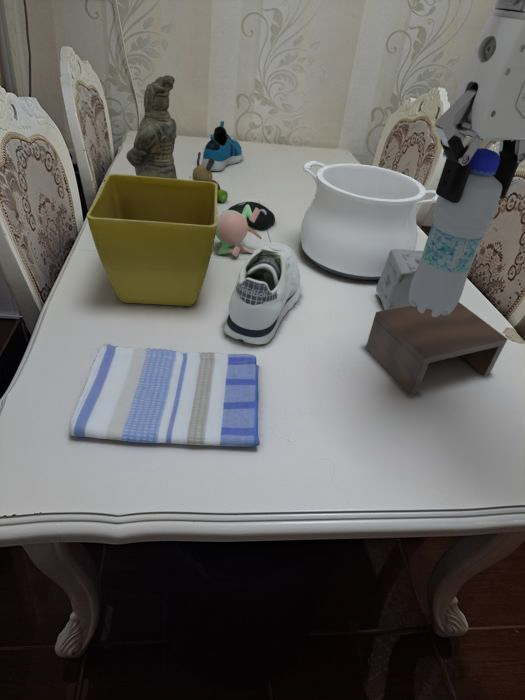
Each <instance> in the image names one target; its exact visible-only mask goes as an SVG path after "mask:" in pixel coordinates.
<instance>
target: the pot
mask: <svg viewBox="0 0 525 700" xmlns="http://www.w3.org/2000/svg"><path fill="white" fill-rule="evenodd" d="M312 167H320V168H319V169H318V170H317V171H316V174H315V173H314V172H313V171H311V168H312ZM302 169H303V172H306V173H307V174H309V175H310V176H311V177H312V178H313V180H314V182H315V185H316V189H315V190H316V191H315V195H314V198H313V200H312V201H311V203H310V205H309V206H308V208H307V210H306V211H305V213H304V215H303V217H302V220H301V226H300V232H299V233H300V234H299V237H300V244H301V247H302V250H303V251H304V253H305V254H306V256H307V257H308V259H309V260H310V262H312V263H313V264H315V265H316V266H318V267H319V268H321V269H322V270H324V271H326V272H329V273H331V274H334V275H335V276H340V277H343V278H347V279H352V280H359V281H360V280H363V281H376V280H380V277H381V275H382V272H383V270H384V267H385V264H386V261H387V258H388V255H389V253H390V251H391V250H392V249H399V250H414V251H416V249H417V244H418V237H419V235H418V234H419V233H418V224H417V211H418V207H419V205H423V204H429V203H430V204H436V200H437V198H438V196H439V195H437V194H436V189H435V190H434V189H428V190H427V189H426V187H425V186H424V185H423V184H422V183H421V182H419V181H418V180H416V179H414V178H413V177H411V176H409V175H406V174H404V173H401V172H399V171H396V170H393V169H388V168H385V167H380V166H374V165H370V164H369V165H368V164H361V163H360V164H359V163H334V164H328V165H326V164H325V163H323V162H318V160H309V161H307V162H305V163H304V164H303V166H302ZM430 194H432V195H434V196H433V197H430V198H429V199H424V198H425V197H426V195H430Z"/></svg>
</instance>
